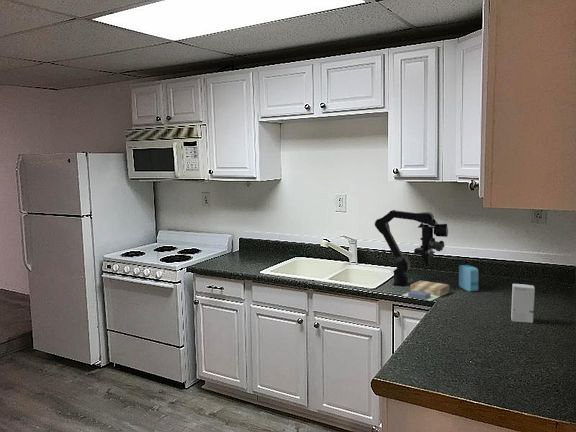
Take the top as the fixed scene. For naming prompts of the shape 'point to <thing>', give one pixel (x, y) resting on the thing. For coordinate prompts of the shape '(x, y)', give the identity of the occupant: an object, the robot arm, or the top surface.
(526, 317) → the skincare box
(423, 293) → the block
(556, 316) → the top surface
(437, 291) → the beige shallow box
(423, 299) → the mat
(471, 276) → the data package
